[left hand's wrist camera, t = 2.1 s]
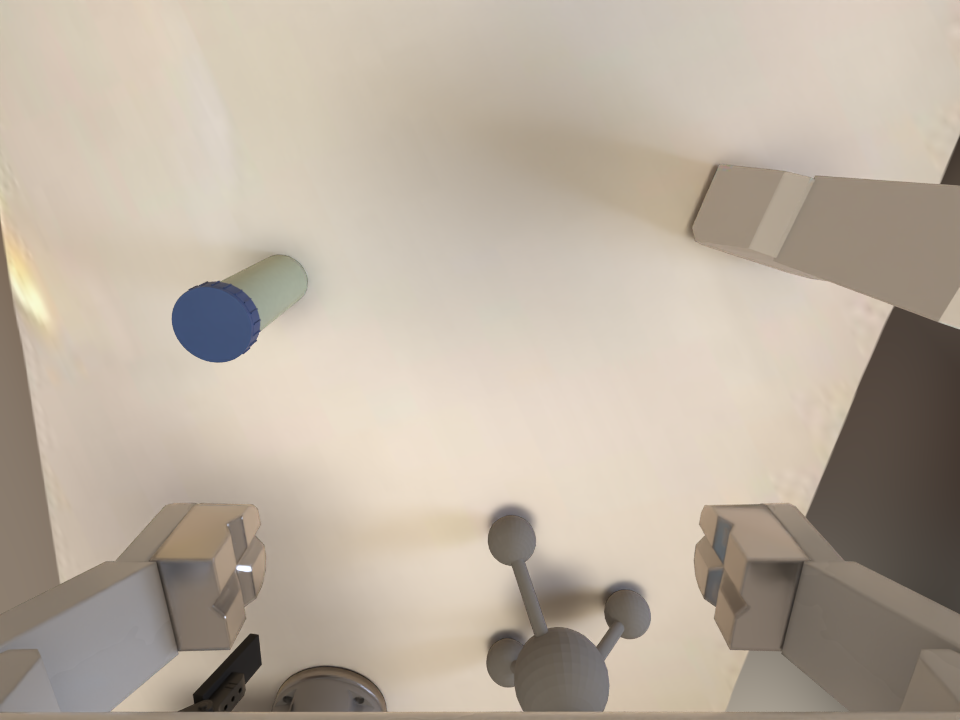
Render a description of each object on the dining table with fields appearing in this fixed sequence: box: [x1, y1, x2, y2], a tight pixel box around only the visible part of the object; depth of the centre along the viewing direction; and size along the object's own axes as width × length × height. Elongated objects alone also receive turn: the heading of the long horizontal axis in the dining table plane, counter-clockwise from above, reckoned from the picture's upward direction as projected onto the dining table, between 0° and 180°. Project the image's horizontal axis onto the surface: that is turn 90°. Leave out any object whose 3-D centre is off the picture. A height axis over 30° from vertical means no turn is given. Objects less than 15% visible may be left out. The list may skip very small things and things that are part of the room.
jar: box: [220, 255, 307, 331], centre depth 50 cm, size 5×5×16 cm
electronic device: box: [692, 164, 960, 329], centre depth 41 cm, size 12×8×30 cm, turn 73°
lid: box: [172, 281, 261, 362], centre depth 43 cm, size 6×6×2 cm
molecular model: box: [486, 515, 651, 712], centre depth 57 cm, size 24×22×30 cm
